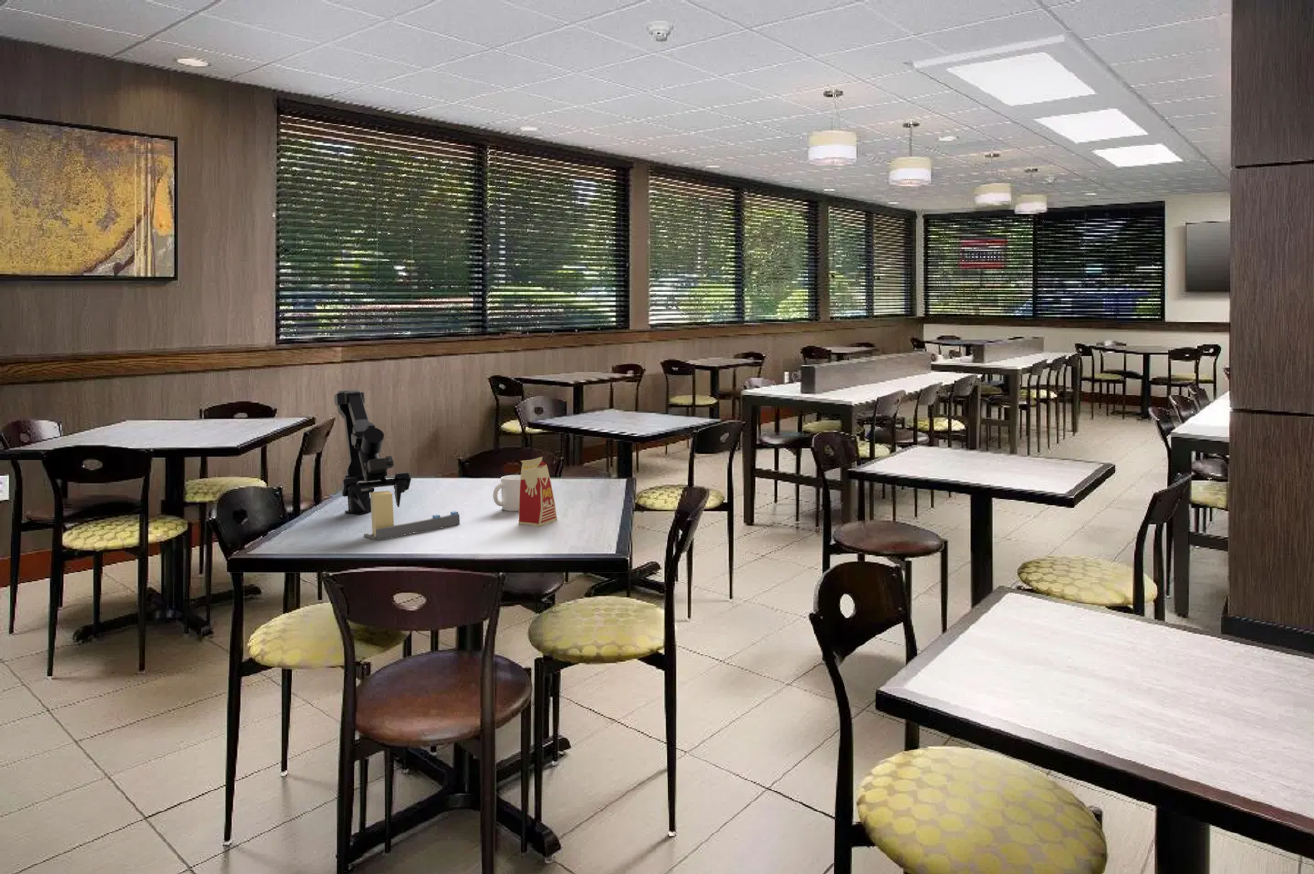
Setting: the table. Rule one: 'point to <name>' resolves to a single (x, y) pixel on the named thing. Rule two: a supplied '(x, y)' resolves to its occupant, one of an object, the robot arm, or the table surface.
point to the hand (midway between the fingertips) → (382, 508)
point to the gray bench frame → (416, 526)
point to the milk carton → (536, 494)
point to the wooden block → (381, 510)
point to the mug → (508, 492)
